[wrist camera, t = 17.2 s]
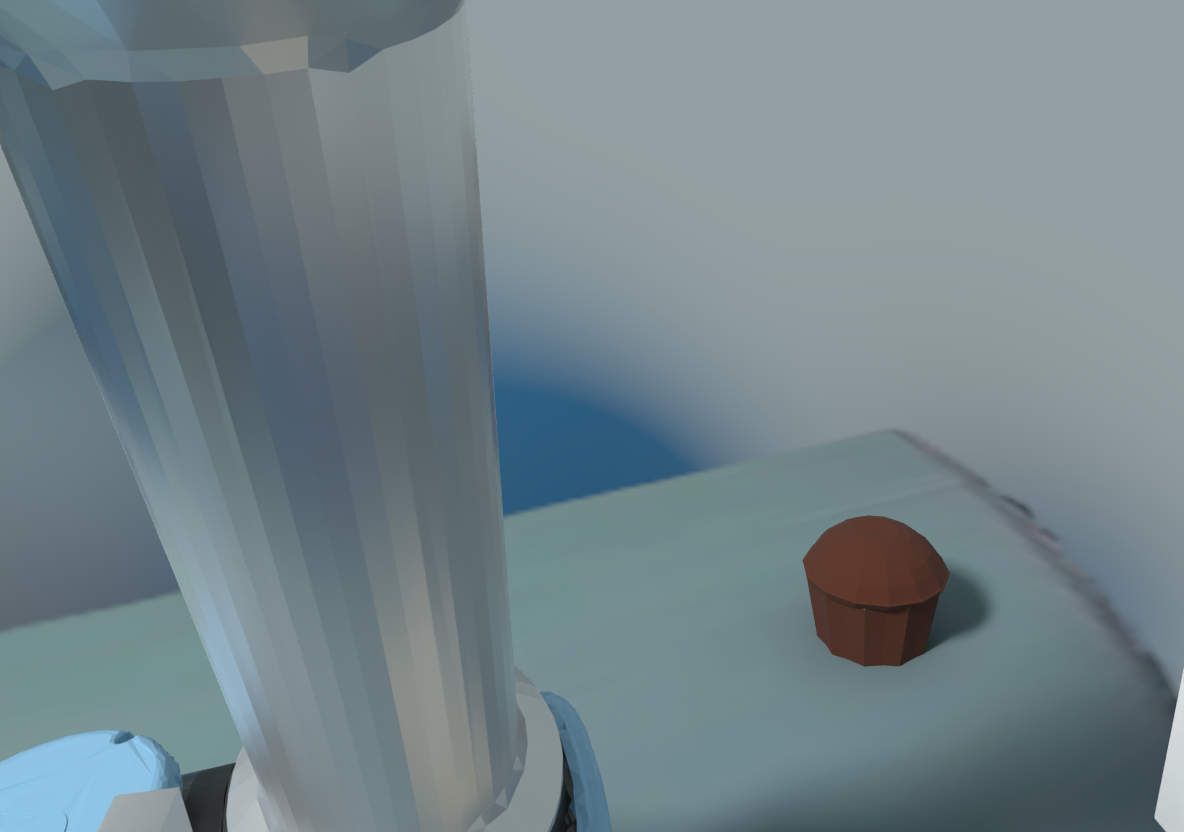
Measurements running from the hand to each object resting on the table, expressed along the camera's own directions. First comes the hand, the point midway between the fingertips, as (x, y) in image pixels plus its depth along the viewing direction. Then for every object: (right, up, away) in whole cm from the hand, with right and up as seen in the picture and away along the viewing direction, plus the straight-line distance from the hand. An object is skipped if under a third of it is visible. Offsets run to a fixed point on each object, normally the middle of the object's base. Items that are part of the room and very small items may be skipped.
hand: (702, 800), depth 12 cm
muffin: (+22, -13, +65) cm, 70 cm away
